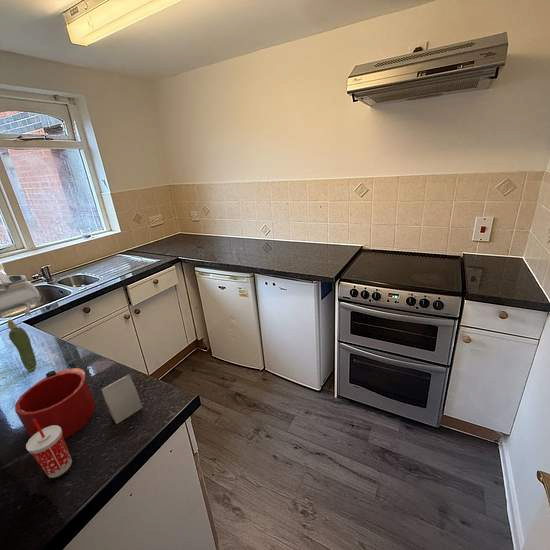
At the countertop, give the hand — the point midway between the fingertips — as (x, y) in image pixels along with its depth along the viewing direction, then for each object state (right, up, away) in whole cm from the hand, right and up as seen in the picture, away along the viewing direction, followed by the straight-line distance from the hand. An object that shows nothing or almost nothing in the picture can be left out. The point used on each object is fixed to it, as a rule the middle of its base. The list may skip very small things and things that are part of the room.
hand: (11, 320), depth 100 cm
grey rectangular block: (+49, -21, -21) cm, 58 cm away
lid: (+22, -19, -9) cm, 30 cm away
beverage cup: (+41, -27, -34) cm, 60 cm away
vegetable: (+7, -17, +2) cm, 18 cm away
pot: (+33, -23, -21) cm, 45 cm away
